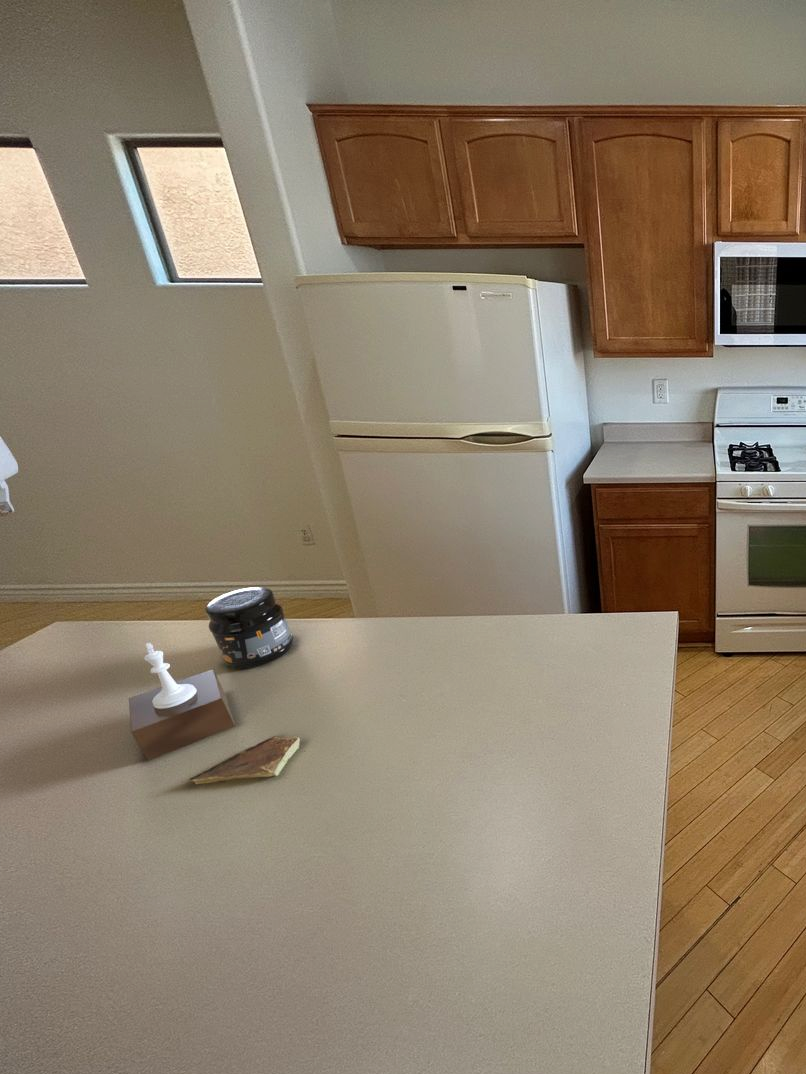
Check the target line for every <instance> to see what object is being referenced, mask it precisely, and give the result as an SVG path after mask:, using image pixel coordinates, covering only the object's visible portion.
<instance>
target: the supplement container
mask: <svg viewBox="0 0 806 1074" xmlns="http://www.w3.org/2000/svg"><path fill="white" fill-rule="evenodd" d="M204 612H205V614H206V616H207V618H208V620H209V623H208V630H209V631H210V633H211V634H212V636H213V638H214V641H215V643H216V644H217V647H218V649H219V651H220V654H221V656H222V659H223V662H224V664H225V665H226V666H228V667H230V668H232V669H237V670H239V669H240V670H245V669H253V668H257V667H261V666H265V665H267V664H270V663H272V662H274V661H277V660H278V659H281V658H282V657H284V656H285V655H286V654H288V653H289V652H290V651H291V649H293V647H294V644H295V639H294V636H293V633H292V632H291V630H290V627H289V624H288V621H287V619H286V616H285V613H284V609H283V606H282V604H281V603H279V602H278V601H276V597H275V595H274V592H273V590H272V589H270V588H268V587H263V586H254V587H246V588H241V589H237V590H233V591H230V592H227V593H223V594H222V595H220V596H218V597H216V598H214V599H213V600H211V601H210V602H209V603H208V604H206V606H205V611H204Z"/></svg>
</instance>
